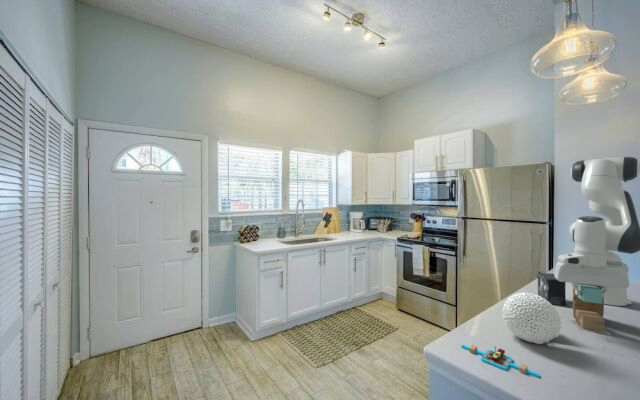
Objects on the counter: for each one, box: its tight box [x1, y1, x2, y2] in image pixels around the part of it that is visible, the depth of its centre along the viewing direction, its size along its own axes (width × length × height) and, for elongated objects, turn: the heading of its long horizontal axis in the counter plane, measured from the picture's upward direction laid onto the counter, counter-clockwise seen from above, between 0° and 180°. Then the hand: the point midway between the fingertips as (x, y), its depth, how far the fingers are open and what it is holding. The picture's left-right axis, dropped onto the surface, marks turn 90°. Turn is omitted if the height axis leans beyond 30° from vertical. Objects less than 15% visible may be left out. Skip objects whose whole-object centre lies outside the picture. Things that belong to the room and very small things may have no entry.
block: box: [572, 283, 605, 319], centre depth 108 cm, size 11×8×20 cm
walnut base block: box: [575, 310, 606, 332], centre depth 101 cm, size 6×6×5 cm
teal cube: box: [578, 284, 602, 304], centre depth 101 cm, size 5×5×5 cm
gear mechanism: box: [461, 344, 540, 379], centre depth 81 cm, size 20×5×9 cm
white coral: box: [502, 291, 562, 345], centre depth 96 cm, size 20×18×16 cm
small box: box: [537, 272, 567, 307], centre depth 132 cm, size 13×7×12 cm, turn 159°
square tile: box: [569, 319, 613, 336], centre depth 101 cm, size 9×9×1 cm
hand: (589, 296), depth 101 cm, fingers closed on teal cube, 5 cm apart
